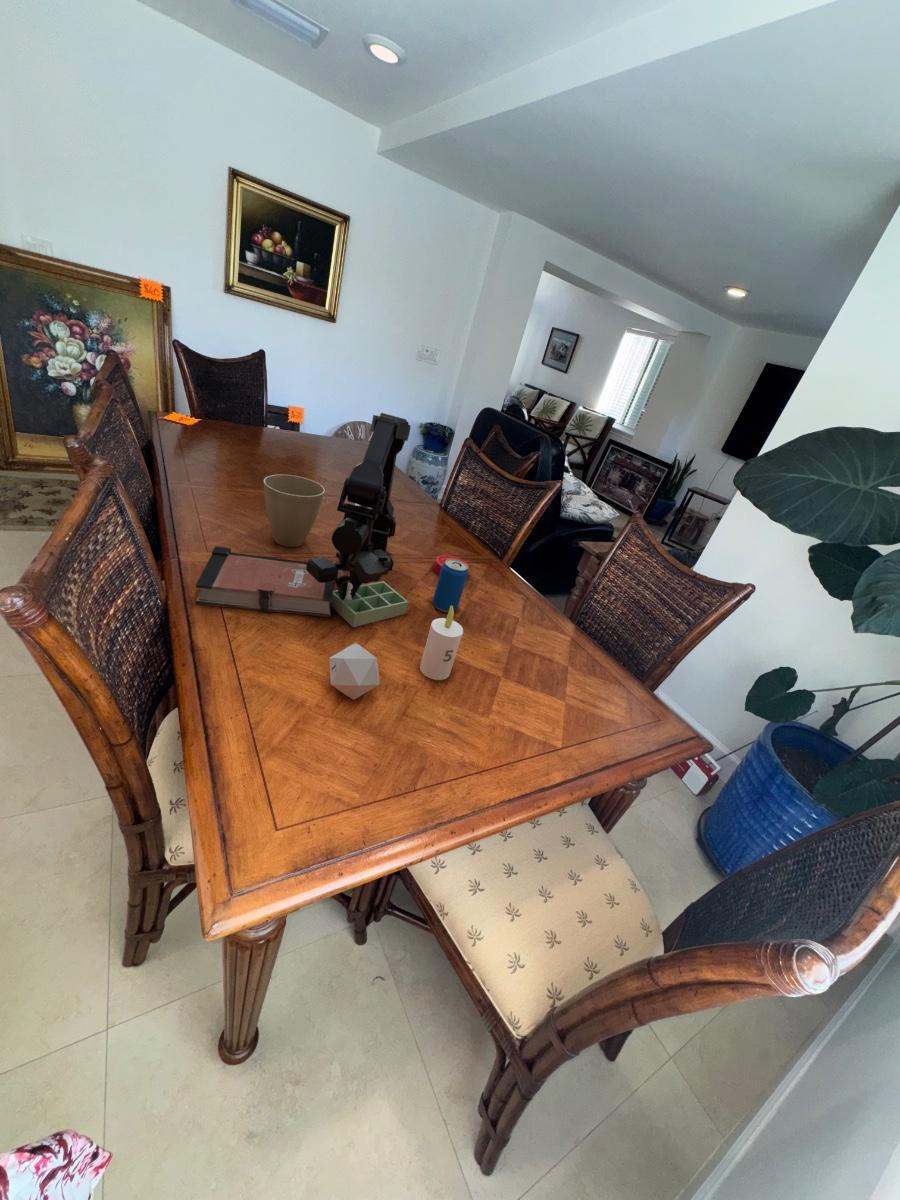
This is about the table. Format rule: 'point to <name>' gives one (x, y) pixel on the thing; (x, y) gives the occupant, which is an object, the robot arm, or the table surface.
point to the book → (262, 584)
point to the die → (354, 671)
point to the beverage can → (450, 585)
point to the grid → (370, 604)
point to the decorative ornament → (441, 561)
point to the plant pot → (291, 507)
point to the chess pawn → (348, 592)
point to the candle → (441, 647)
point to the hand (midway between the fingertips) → (346, 598)
